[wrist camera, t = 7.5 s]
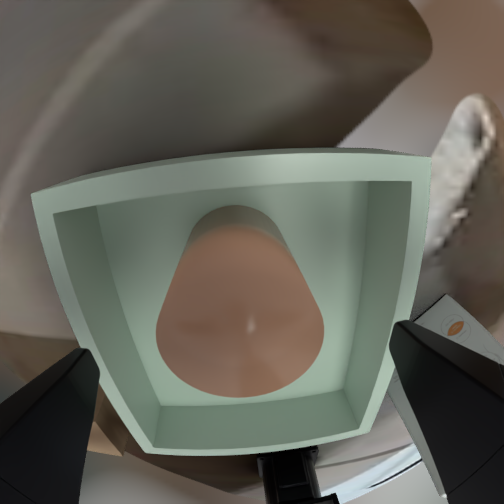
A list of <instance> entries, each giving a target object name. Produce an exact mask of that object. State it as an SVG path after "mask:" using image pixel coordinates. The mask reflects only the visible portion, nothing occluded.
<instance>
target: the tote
mask: <svg viewBox="0 0 504 504" xmlns="http://www.w3.org/2000/svg"><path fill="white" fill-rule="evenodd" d="M430 182H431V157H426V156H420V155H414V154H408V153H402V152H396V151H389V150H382V149H369V148H368V149H367V148H284V149H264V150H248V151H235V152H224V153H214V154H204V155H196V156H188V157H180V158H173V159H166V160H159V161H153V162H147V163H141V164H135V165H129V166H124V167H119V168H114V169H109V170H104V171H99V172H95V173H90V174H86V175H82V176H79V177H76V178H73V179H70V180H67V181H64V182H61V183H58V184H55V185H53V186H50V187H47V188H44V189H42V190H39V191H37V192H34V193H31V198H32V203H33V208H34V213H35V217H36V221H37V226H38V230H39V234H40V238H41V241H42V245H43V249H44V252H45V256H46V259H47V262H48V266H49V269H50V272H51V275H52V278H53V281H54V284H55V287H56V289H57V292H58V295H59V297H60V300H61V303H62V305H63V308H64V310H65V313H66V315H67V318H68V320H69V322H70V325H71V327H72V329H73V332H74V334H75V336H76V338H77V340H78V343H79V345H80V347H81V348H87V349H89V350H90V351H91V352H92V355H93V357H94V359H95V361H96V363H97V365H98V367H99V369H100V379H99V383H100V385H101V387H102V389H103V390H104V392H105V394H106V395H107V397H108V399H109V400H110V402H111V404H112V405H113V407H114V408H115V410H116V412H117V413H118V415H119V416H120V418H121V419H122V421H123V422H124V424H125V425H126V427H127V428H128V430H129V431H130V433H131V434H132V435H133V437H134V438H135V440H136V441H137V442H138V444H139V445H140V446H141V448H142V449H143V450H144V452H145V453H152V454H166V455H188V456H218V455H240V454H254V453H264V452H273V451H281V450H289V449H295V448H302V447H307V446H313V445H318V444H323V443H328V442H333V441H337V440H341V439H346V438H350V437H353V436H357V435H361V434H365V433H368V432H369V431H370V429H371V427H372V424H373V422H374V420H375V418H376V415H377V413H378V410H379V408H380V406H381V403H382V401H383V398H384V396H385V393H386V390H387V388H388V385H389V382H390V380H391V377H392V374H393V371H394V368H395V364H394V362H393V359H392V356H391V353H390V350H389V341H390V337H391V333H392V329H393V326H394V324H395V322H397V321H401V320H409V318H410V314H411V310H412V306H413V301H414V297H415V293H416V288H417V283H418V278H419V273H420V267H421V262H422V256H423V249H424V243H425V235H426V228H427V219H428V209H429V197H430ZM230 205H241V206H247V207H252V208H254V209H257V210H259V211H261V212H263V213H264V214H266V215H267V216H268V217H269V218H270V219H271V220H272V221H273V222H274V223H275V224H276V225H277V227H278V228H279V230H280V232H281V234H282V236H283V238H284V240H285V242H286V243H287V245H288V247H289V249H290V251H291V253H292V255H293V257H294V259H295V261H296V263H297V265H298V267H299V269H300V271H301V273H302V275H303V277H304V279H305V281H306V283H307V285H308V287H309V289H310V291H311V293H312V295H313V297H314V299H315V301H316V303H317V305H318V307H319V309H320V312H321V314H322V317H323V322H324V339H323V344H322V347H321V350H320V352H319V354H318V356H317V358H316V360H315V361H314V363H313V364H312V365H311V367H310V368H309V369H308V370H307V371H306V372H305V373H304V374H303V375H302V376H300V377H299V378H298V379H297V380H295V381H294V382H292V383H291V384H289V385H287V386H285V387H283V388H281V389H279V390H277V391H274V392H271V393H268V394H264V395H260V396H254V397H245V398H232V397H222V396H217V395H212V394H209V393H206V392H203V391H200V390H198V389H196V388H194V387H192V386H190V385H188V384H186V383H185V382H183V381H182V380H181V379H179V378H178V377H177V376H176V375H175V374H174V373H173V372H172V371H171V370H170V369H169V368H168V366H167V365H166V364H165V362H164V361H163V359H162V357H161V355H160V353H159V350H158V347H157V343H156V324H157V320H158V317H159V314H160V311H161V308H162V305H163V302H164V300H165V297H166V294H167V291H168V289H169V286H170V283H171V281H172V278H173V275H174V273H175V270H176V268H177V265H178V262H179V260H180V257H181V255H182V252H183V250H184V247H185V245H186V242H187V240H188V237H189V235H190V233H191V231H192V229H193V227H194V226H195V225H196V223H197V222H198V221H199V220H200V219H201V218H202V217H203V216H205V215H206V214H208V213H209V212H211V211H213V210H215V209H217V208H220V207H224V206H230Z"/></svg>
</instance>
